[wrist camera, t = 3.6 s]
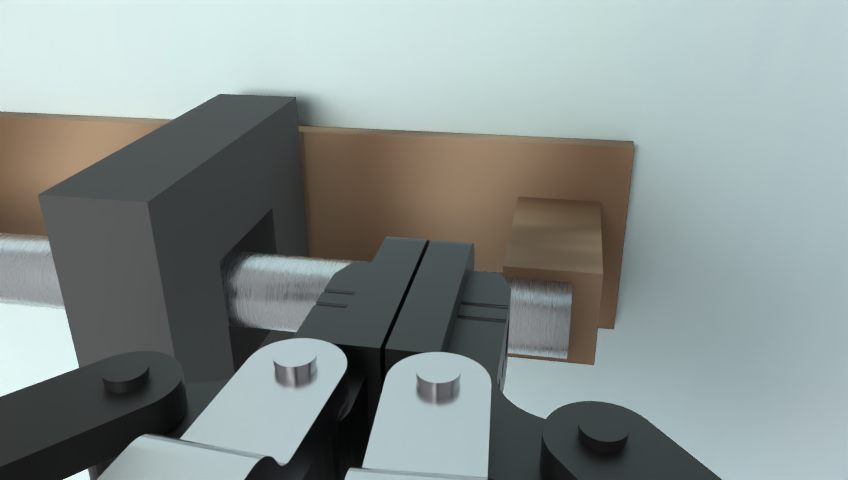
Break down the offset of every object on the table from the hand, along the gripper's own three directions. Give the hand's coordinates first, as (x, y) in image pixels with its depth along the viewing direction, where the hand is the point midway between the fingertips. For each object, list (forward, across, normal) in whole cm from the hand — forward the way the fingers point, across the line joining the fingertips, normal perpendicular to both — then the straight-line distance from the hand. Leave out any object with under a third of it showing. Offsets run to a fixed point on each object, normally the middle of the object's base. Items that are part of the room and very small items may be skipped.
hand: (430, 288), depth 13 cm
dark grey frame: (+9, +7, +3) cm, 12 cm away
